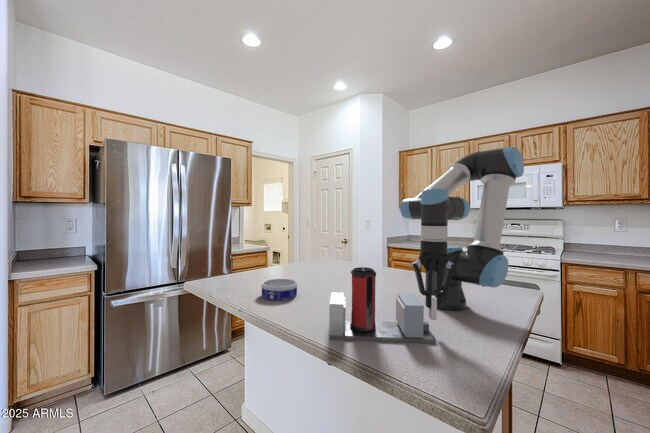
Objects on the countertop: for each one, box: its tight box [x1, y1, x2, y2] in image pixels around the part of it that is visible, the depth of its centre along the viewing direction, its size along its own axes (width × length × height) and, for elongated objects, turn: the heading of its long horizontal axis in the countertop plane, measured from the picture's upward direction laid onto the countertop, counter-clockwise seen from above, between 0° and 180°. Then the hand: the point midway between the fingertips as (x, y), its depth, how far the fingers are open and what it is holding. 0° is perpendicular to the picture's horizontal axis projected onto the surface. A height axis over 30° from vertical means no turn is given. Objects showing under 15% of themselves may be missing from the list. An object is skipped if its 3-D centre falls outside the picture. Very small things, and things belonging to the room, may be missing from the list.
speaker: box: [350, 266, 377, 332], centre depth 87 cm, size 8×8×18 cm
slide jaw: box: [395, 292, 430, 338], centre depth 86 cm, size 9×12×9 cm
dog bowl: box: [261, 278, 298, 302], centre depth 124 cm, size 15×15×6 cm
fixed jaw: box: [328, 291, 347, 336], centre depth 88 cm, size 5×12×9 cm, turn 176°
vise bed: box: [328, 319, 437, 344], centre depth 87 cm, size 30×12×1 cm, turn 86°
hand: (432, 318), depth 86 cm, fingers closed
